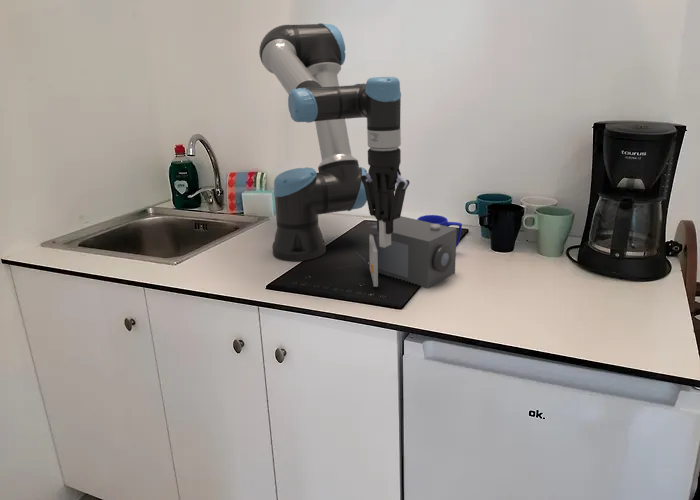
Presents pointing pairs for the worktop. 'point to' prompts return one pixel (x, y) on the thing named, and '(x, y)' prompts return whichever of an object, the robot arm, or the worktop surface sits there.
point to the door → (373, 260)
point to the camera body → (417, 251)
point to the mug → (441, 222)
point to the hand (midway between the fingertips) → (385, 245)
